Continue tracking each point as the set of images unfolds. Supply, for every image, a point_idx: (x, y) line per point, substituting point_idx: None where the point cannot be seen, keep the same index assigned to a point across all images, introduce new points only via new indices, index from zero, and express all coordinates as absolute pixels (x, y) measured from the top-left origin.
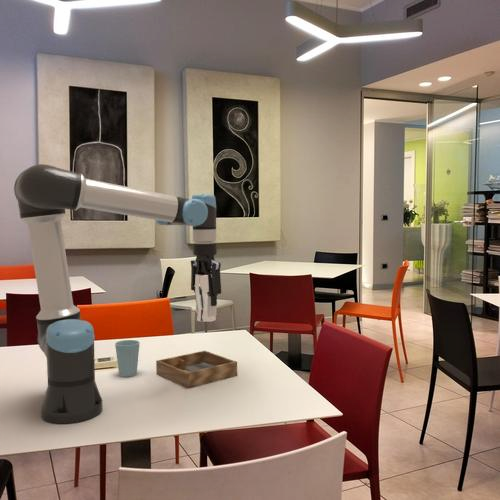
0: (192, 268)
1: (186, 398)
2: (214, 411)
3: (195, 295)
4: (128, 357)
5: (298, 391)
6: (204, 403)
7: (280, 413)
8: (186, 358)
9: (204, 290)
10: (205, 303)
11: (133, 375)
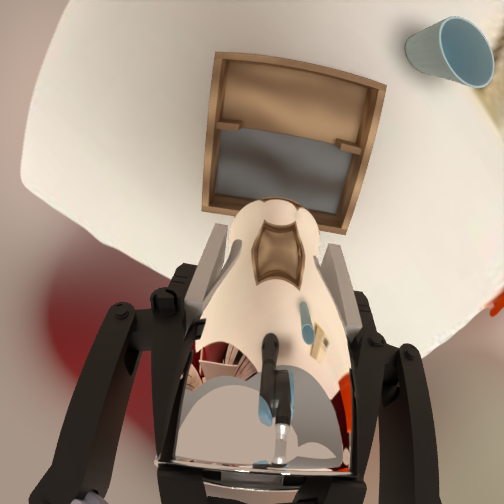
0: (427, 496)
1: (175, 23)
2: (92, 38)
3: (373, 322)
4: (427, 30)
5: (80, 206)
6: (129, 39)
7: (38, 122)
8: (355, 171)
9: (204, 323)
10: (231, 262)
11: (405, 49)
